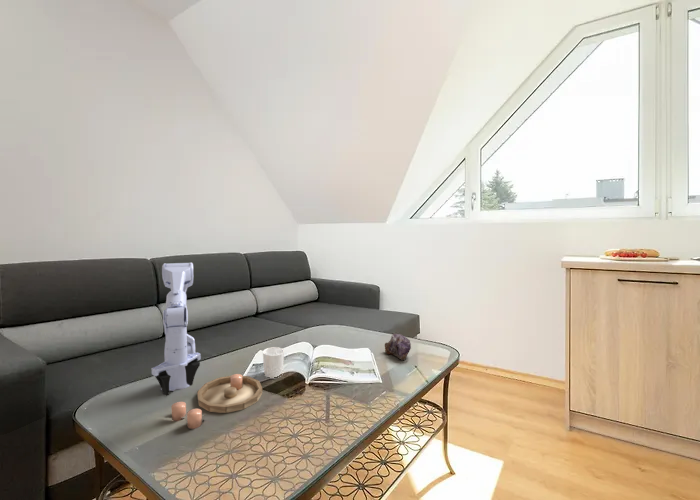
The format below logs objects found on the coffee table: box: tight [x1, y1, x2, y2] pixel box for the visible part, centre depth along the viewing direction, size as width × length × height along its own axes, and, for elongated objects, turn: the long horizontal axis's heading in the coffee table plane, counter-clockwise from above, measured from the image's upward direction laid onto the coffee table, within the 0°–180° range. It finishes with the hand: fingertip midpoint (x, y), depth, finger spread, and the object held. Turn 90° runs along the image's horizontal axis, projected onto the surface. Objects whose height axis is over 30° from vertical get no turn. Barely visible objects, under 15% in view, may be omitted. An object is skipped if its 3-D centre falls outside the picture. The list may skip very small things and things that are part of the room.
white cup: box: [262, 346, 285, 379], centre depth 143 cm, size 8×8×10 cm
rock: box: [384, 333, 412, 361], centre depth 166 cm, size 12×9×10 cm
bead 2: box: [186, 408, 203, 430], centre depth 112 cm, size 4×4×4 cm
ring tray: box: [197, 375, 263, 414], centre depth 128 cm, size 20×20×3 cm
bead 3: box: [230, 373, 243, 390], centre depth 133 cm, size 4×4×4 cm
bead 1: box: [170, 401, 187, 422], centre depth 115 cm, size 4×4×4 cm
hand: (178, 389), depth 114 cm, fingers open, 7 cm apart
